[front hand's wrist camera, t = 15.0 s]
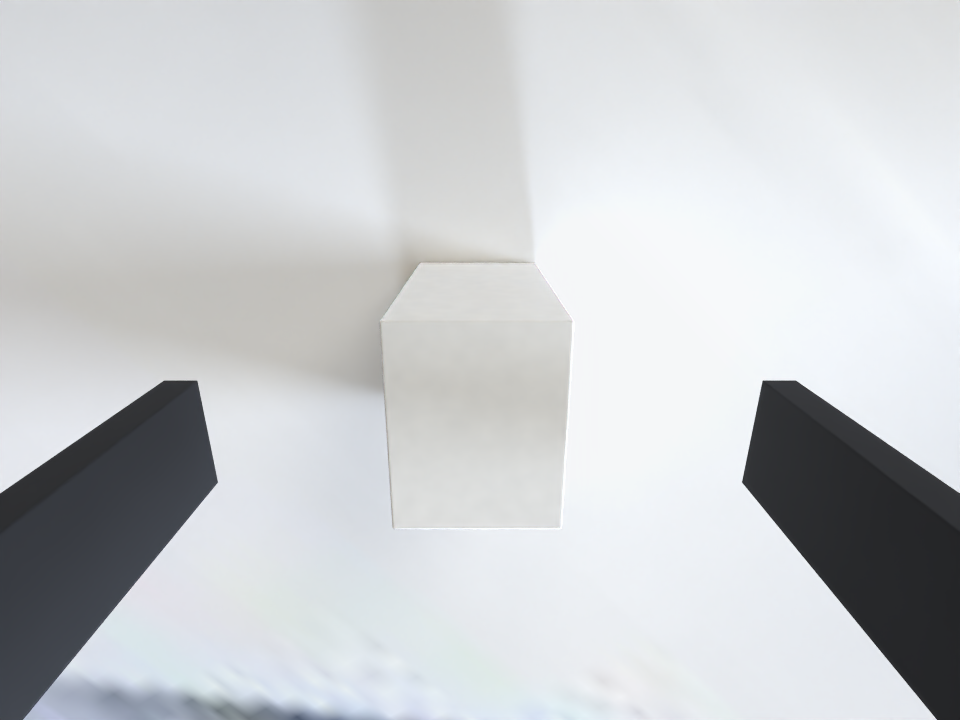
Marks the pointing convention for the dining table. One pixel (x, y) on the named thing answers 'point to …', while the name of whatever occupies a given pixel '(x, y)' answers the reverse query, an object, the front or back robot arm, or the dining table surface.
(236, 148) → the dining table surface
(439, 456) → the white rectangular block
